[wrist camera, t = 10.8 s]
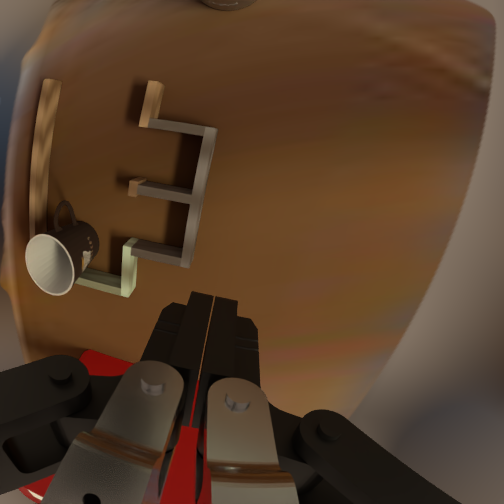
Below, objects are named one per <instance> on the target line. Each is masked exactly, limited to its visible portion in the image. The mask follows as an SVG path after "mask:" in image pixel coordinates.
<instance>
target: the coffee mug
mask: <svg viewBox="0 0 504 504" xmlns="http://www.w3.org/2000/svg"><path fill="white" fill-rule="evenodd" d="M64 205H66V206H67V207H68V209H69V212H70V215H71V219H72V222H73V223H71V224H68V225H65V226H62V227H59V225H58V215H59V212H60V210H61V208H62V207H63V206H64ZM54 227H55V229H53V230H50V231H48V232H45V233H42V234H39V235H36V236H34V237H33V238H32V239H31V240H30V241H29V243H28V245H27V248H26V254H25V258H26V265H27V269H28V271H29V274H30V276H31V277H32V279H33V281H34V282H35V283H36V284H37V285H38V286H39V287H40V288H41V289H42V290H43V291H45V292H47V293H49V294H51V295H63V294H65V293H67V292H68V291H69V290H70V289H71V287H72V286H73V285H74V283H75V282H76V281H77V279H78V278H79V276H80V275H81V274H82V272H83V271H84V270H85V269H86V267H87V266H88V265H89V263H90V262H91V261H92V259H93V258H94V257H95V256H96V254H97V252H98V250H99V238H98V235H97V233H96V231H95V230H94V228H93V227H92V226H91V225H89V224H88V223H85V222H82V221H78V222H76V219H75V215H74V211H73V208H72V206H71V204H70V203H69V202H68V201H65V200H64V201H62V202H61V203H59V205H58V206H57V208H56V211H55V215H54Z"/></svg>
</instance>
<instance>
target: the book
mask: <svg viewBox="0 0 504 504" xmlns="http://www.w3.org/2000/svg"><path fill="white" fill-rule="evenodd" d="M79 361H81V362H82V363H83V364H84V365H85V366H86V368H87V369H88V372H89V375H98V376H118V375H122V374H124V373H125V372H126V370H127V369H128V368H129V367H130V366H131V365H133V363H130V362H127V361H123V360H120V359H117V358H114V357H111V356H108V355H105V354H102V353H99V352H96V351H93V350H87V351H84V353H83V354H82V356H81V357H80V359H79ZM198 385H199V381H198V380H197V385H196V390H195V396H194V401H193V407H192V412H191V418H190V424H189V427H187V426H182V427H181V432H180V437H179V441H178V443H177V445H176V448H175V452H174V455H173V459H172V462H171V465H170V469H169V472H168V476H167V479H166V483H165V486H164V490H163V493H162V497H161V501H160V504H193V500H194V460H195V448H196V444H197V438H198V431H199V429H198V428H193V427H191V426H192V420H193V414H194V408H195V402H196V396H197V391H198ZM54 475H55V474H53V475H51V476H49V477H46V478H44V479H41V480H39V481H36V482H34V483H31V484H29V485H26V486H23V487H21V488H18V489H19V490H20V491H21V492H22V493H23V494H24V495H25V496H26V497H28V498H29V499H31V500H32V501H34V502H36V503H38V504H39V503H41V501H42V499H43V497H44V495H45V493H46V491H47V489H48V487H49V485H50V483H51V481H52V479H53V477H54Z"/></svg>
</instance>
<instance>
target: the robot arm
mask: <svg viewBox="0 0 504 504" xmlns="http://www.w3.org/2000/svg"><path fill="white" fill-rule="evenodd" d="M201 1H202V2H203V3H205V4H206V5H208V6H209V7H212V8H214V9H218V10H228V11H230V10H237V9H241V8H244V7H247V6H249V5H251V4H252V3H254V2H255V1H256V0H201ZM213 297H214V296H212V295H207V294H203V293H198V292H194V291H192V292H191V295H190V298H189V301H188V304H187V305H182V304H178V303H174V302H173V303H171V304H170V305H168V306H167V307H165V308H164V309H163V310H162V312H161V314H160V316H159V318H158V321H157V323H156V325H155V327H154V330H153V332H152V334H151V337H150V339H149V341H148V343H147V346H146V348H145V350H144V353H143V355H142V357H141V360H140V362H138V363H135V364H133V365H131V366H130V367H129V368H128V369H127V370H126V372H125V373H124V374H122V375H118V376H98V375H89V372H88V369H87V368H86V366H85V365H84V364H83V363H82V362H81V361H79V360H78V359H76V358H74V357H71V356H67V355H54V356H50V357H47V358H44V359H41V360H37V361H34V362H31V363H28V364H25V365H22V366H19V367H15V368H12V369H9V370H6V371H3V372H0V495H1V494H4V493H7V492H9V491H12V490H15V489H18V488H21V487H23V486H26V485H29V484H31V483H34V482H36V481H39V480H41V479H44V478H46V477H49V476H51V475H53V474H55V475H54V477H53V479H52V481H51V483H50V485H49V487H48V489H47V491H46V493H45V495H44V497H43V499H42V501H41V503H39V504H160V501H161V497H162V493H163V490H164V486H165V483H166V479H167V476H168V472H169V469H170V465H171V462H172V459H173V455H174V452H175V448H176V445H177V443H178V441H179V437H180V432H181V427H182V426H187V427H189V424H190V418H191V412H192V407H193V401H194V396H195V390H196V385H197V380H198V374H199V369H200V364H201V358H202V353H203V348H204V343H205V337H206V332H207V327H208V322H209V317H210V312H211V307H212V302H213ZM237 305H238V301H236V300H231V299H226V298H222V297H217V296H216V297H215V302H214V306H213V311H212V316H211V321H210V326H209V331H208V336H207V341H206V346H205V351H204V357H203V362H202V368H201V373H200V379H199V385H198V391H197V396H196V402H195V408H194V414H193V420H192V426H191V427H193V428H198V429H199V431H198V438H197V444H196V448H195V460H194V500H193V504H461V503H460V502H458V501H457V500H455V499H453V498H452V497H451V496H449V495H448V494H446V493H444V492H443V491H442V490H440V489H439V488H437V487H436V486H434V485H433V484H432V483H430V482H429V481H427V480H426V479H425V478H423V477H422V476H420V475H419V474H418V473H416V472H415V471H413V470H412V469H411V468H409V467H408V466H407V465H405V464H404V463H402V462H401V461H400V460H398V459H397V458H396V457H394V456H393V455H392V454H391V453H389V452H388V451H386V450H385V449H384V448H383V447H381V446H380V445H379V444H377V443H376V442H375V441H374V440H372V439H371V438H370V437H369V436H367V435H366V434H365V433H364V432H362V431H361V430H360V429H358V428H357V427H356V426H355V425H354V424H352V423H351V422H350V421H349V420H347V419H346V418H345V417H343V416H342V415H340V414H338V413H336V412H334V411H330V410H314V411H311V412H309V413H307V414H306V415H305V416H304V417H303V418H301V417H298V416H295V415H292V414H289V413H287V412H284V411H282V410H279V409H278V408H276V407H274V406H273V405H272V404H270V403H269V402H268V400H267V397H266V395H265V393H264V392H263V391H262V390H261V387H260V370H259V352H258V349H259V348H258V329H257V328H256V326H255V325H254V323H253V321H252V320H251V319H249V318H244V317H239V316H237Z"/></svg>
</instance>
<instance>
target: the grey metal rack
mask: <svg viewBox="0 0 504 504" xmlns="http://www.w3.org/2000/svg"><path fill="white" fill-rule="evenodd" d="M61 86H62V81H58V80H53V79H44V82H43V86H42V91H41V96H40V101H39V107H38V112H37V119H36V125H35V133H34V141H33V150H32V161H31V174H30V200H29V223H30V240H31V239H32V238H33V237H34V236H36V235H39V234H42V233H45V232H47V192H48V175H49V163H50V153H51V144H52V137H53V129H54V123H55V117H56V111H57V105H58V100H59V95H60V90H61ZM164 88H165V85H163V84H161V83H159V82H158V81H149V82H148V86H147V90H146V94H145V99H144V103H143V108H142V112H141V117H140V122H139V126H140V127H148V128H155V129H162V130H169V131H176V132H182V133H188V134H194V135H200V136H203V141H202V146H201V151H200V155H199V160H198V165H197V170H196V175H195V181H194V186H193V189H187V188H182V187H177V186H172V185H166V184H161V183H155V182H149V181H146V180H147V178H143V177H137V178H135V179H132V180H130V183H129V190H128V196H133V197H137V196H139V195H144V196H150V197H155V198H160V199H166V200H171V201H176V202H181V203H186V204H190V208H189V214H188V220H187V226H186V232H185V238H184V245H183V248H179V247H174V246H170V245H165V244H160V243H155V242H151V241H146V240H141V239H137V238H131V239H130V240H128V241H127V242H126V243H125V244H124V245H123V256H122V276H118V275H114V274H110V273H106V272H102V271H98V270H94V269H90V268H86V269H85V270H84V271H83V272H82V274H81V275H80V276H79V278H78V279H77V281H76V282H75V283H77V284H80V285H83V286H87V287H91V288H94V289H98V290H101V291H105V292H109V293H113V294H116V295H120V296H124V297H129V296H130V294H131V293H132V291H133V290H134V288H135V287H136V272H137V258H138V257H140V258H144V259H148V260H153V261H157V262H162V263H167V264H171V265H176V266H180V267H185V268H189V267H190V265H191V262H192V260H193V256H194V250H195V244H196V239H197V233H198V227H199V222H200V216H201V211H202V205H203V200H204V195H205V190H206V185H207V180H208V175H209V170H210V165H211V160H212V156H213V151H214V146H215V142H216V137H217V133H218V129H216V128H211V127H205V126H200V125H194V124H187V123H181V122H174V121H167V120H160V119H158V114H159V109H160V105H161V100H162V96H163V92H164Z"/></svg>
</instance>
